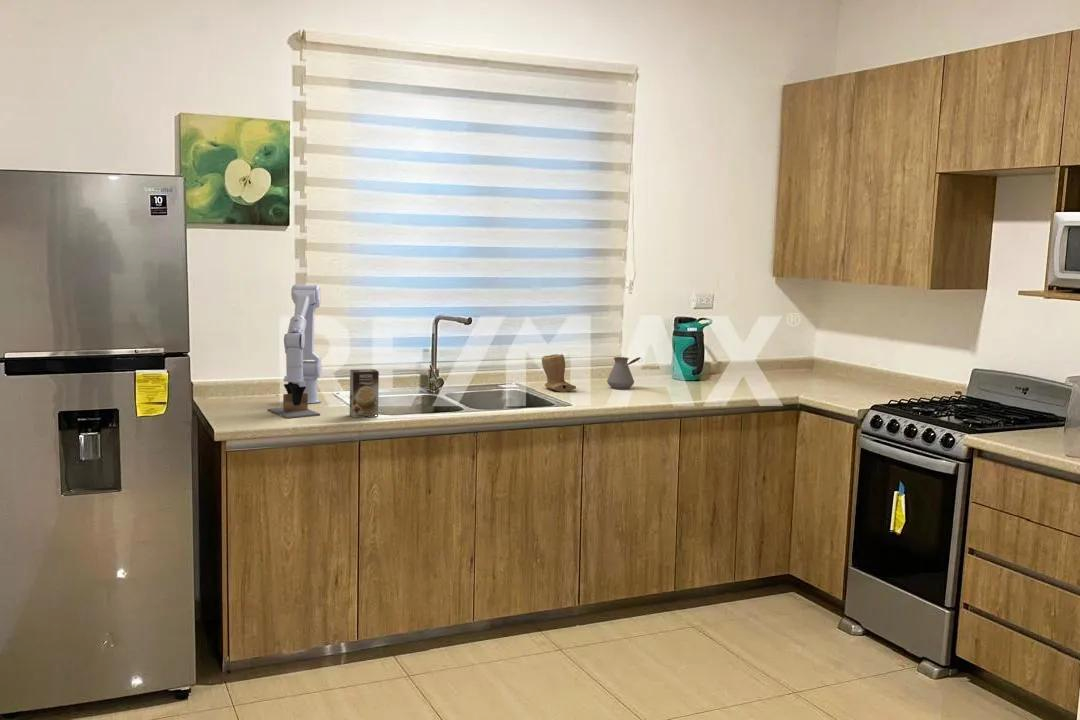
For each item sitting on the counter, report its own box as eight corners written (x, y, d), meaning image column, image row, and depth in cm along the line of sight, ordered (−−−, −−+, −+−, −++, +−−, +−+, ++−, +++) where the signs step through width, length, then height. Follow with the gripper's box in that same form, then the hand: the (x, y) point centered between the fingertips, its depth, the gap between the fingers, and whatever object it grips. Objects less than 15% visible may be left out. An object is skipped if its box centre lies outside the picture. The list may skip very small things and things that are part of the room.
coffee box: (352, 417, 347) (352, 372, 345) (349, 414, 353) (349, 369, 351) (379, 416, 350) (378, 371, 348) (375, 413, 356) (375, 368, 354)
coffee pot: (601, 386, 428) (602, 351, 426) (625, 385, 433) (626, 350, 431) (627, 394, 409) (628, 358, 407) (651, 392, 413) (652, 356, 412)
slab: (283, 410, 354) (283, 394, 353) (304, 408, 359) (304, 392, 358) (286, 412, 352) (286, 395, 351) (307, 410, 357) (307, 393, 356)
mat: (267, 410, 358) (267, 408, 358) (299, 407, 365) (299, 405, 365) (287, 418, 343) (287, 416, 343) (320, 415, 350) (320, 413, 350)
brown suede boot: (537, 387, 422) (538, 352, 420) (563, 386, 426) (564, 351, 424) (549, 393, 408) (550, 356, 406) (576, 392, 411) (577, 356, 409)
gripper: (275, 364, 357) (276, 402, 359) (291, 369, 345) (292, 408, 347) (294, 363, 361) (295, 400, 363) (311, 368, 349) (311, 406, 351)
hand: (295, 404), depth 355 cm, fingers closed on slab, 3 cm apart
